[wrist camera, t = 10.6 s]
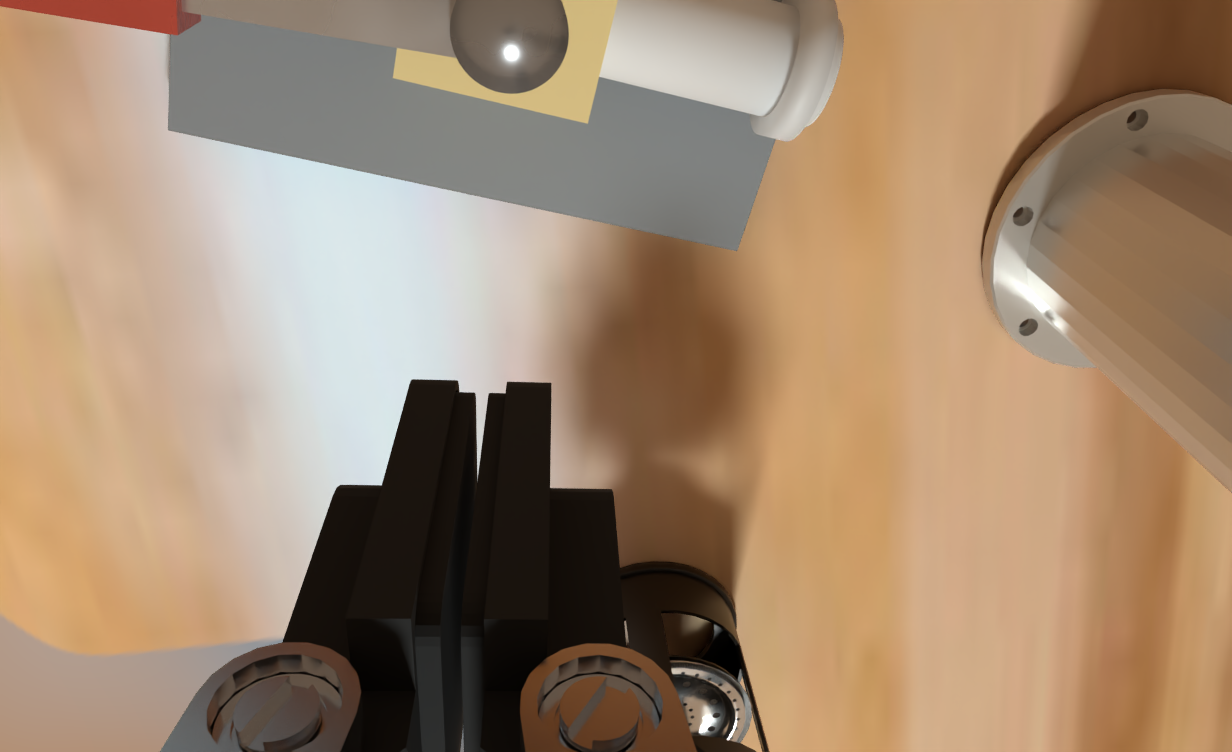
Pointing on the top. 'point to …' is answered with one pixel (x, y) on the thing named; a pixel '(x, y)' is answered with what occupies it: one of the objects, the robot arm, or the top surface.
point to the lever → (372, 27)
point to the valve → (538, 108)
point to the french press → (715, 672)
